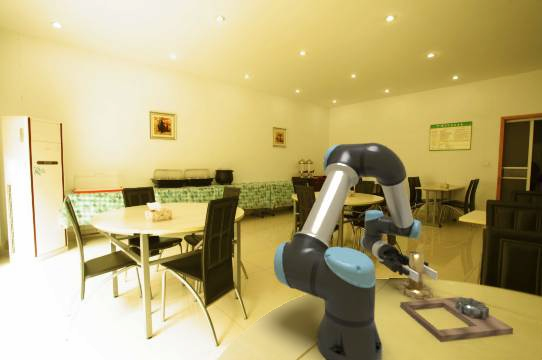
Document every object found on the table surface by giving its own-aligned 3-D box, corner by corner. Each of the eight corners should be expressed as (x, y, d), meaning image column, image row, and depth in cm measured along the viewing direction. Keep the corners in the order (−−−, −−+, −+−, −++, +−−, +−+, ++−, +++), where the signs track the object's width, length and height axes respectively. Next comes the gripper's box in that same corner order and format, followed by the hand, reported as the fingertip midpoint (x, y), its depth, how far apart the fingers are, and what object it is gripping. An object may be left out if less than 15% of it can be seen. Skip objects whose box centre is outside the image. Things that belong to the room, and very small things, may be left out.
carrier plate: (440, 341, 65) (440, 335, 64) (400, 306, 80) (400, 302, 80) (512, 333, 67) (512, 328, 67) (459, 301, 83) (460, 296, 83)
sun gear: (471, 321, 70) (472, 312, 70) (449, 306, 78) (449, 298, 78) (495, 318, 71) (496, 310, 71) (471, 303, 79) (471, 296, 79)
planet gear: (412, 301, 83) (413, 259, 82) (393, 287, 93) (394, 249, 92) (439, 299, 85) (440, 257, 84) (418, 285, 94) (419, 248, 93)
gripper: (406, 260, 108) (453, 286, 85) (363, 262, 105) (399, 290, 82) (407, 242, 107) (453, 263, 84) (364, 244, 105) (400, 267, 82)
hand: (427, 277), depth 83 cm, fingers open, 6 cm apart
